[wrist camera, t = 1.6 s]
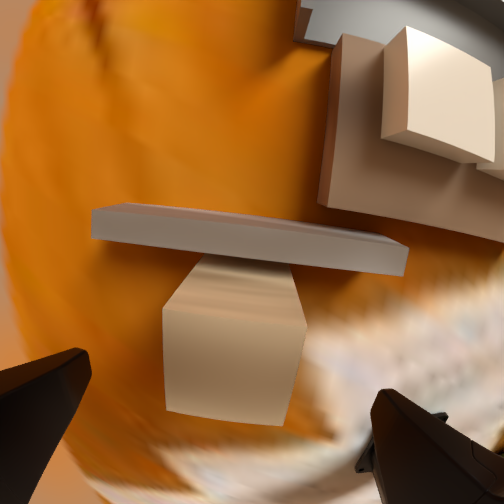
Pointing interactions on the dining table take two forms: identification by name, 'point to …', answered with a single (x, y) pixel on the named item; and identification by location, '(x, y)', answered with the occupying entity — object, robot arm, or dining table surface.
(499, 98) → the tile
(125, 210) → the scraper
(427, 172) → the board
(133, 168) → the dining table surface
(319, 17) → the tray
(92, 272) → the dining table surface
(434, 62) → the tile
